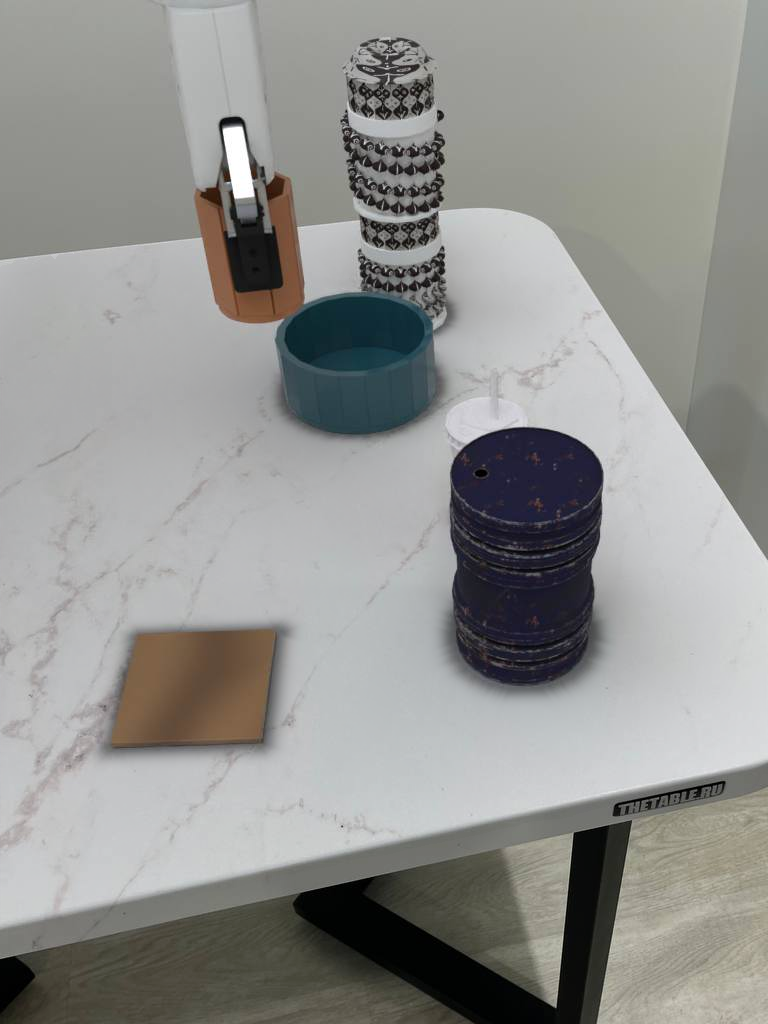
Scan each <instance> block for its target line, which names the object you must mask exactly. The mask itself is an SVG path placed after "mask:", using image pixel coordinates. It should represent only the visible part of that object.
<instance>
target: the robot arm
mask: <svg viewBox="0 0 768 1024" xmlns="http://www.w3.org/2000/svg"><path fill="white" fill-rule="evenodd" d="M147 1H148V2H151V3H154V4H155V5H160V6H161V7H162V14H163V22H164V29H165V35H166V36H165V37H166V41H167V42H166V43H167V48H168V54H169V59H170V65H171V70H172V75H173V80H174V85H175V90H176V95H177V102H178V106H179V111H180V115H181V121H182V126H183V130H184V135H185V141H186V146H187V151H188V156H189V161H190V166H191V171H192V175H193V182H194V186H195V187H196V188H198V189H200V190H201V191H203V192H206V191H207V190H206V188H212V187H216V184H217V180H218V181H219V190H220V192H221V198H222V203H223V209H224V215H225V220H226V226H227V231H224V236H225V242H226V247H227V252H228V258H229V263H230V268H231V274H232V279H233V284H234V289H235V291H237V292H238V293H245V292H253V291H262V290H270V289H279V288H281V287H282V286H283V276H282V269H281V263H280V256H279V249H278V242H277V236H276V229H275V226H271V220H270V214H269V208H268V202H267V195H266V189H265V182H266V185H268V184H269V183H270V182H271V181H272V180H273V178H274V171H275V161H274V147H273V131H272V124H271V123H272V121H271V119H272V118H271V109H270V99H269V89H268V79H267V73H266V72H267V71H266V64H265V56H264V49H263V40H262V33H261V26H260V19H259V11H258V4H257V0H147ZM254 168H256V173H257V179H252V176H251V170H250V169H254ZM223 171H230V176H231V181H227V182H225V181H224V175H223ZM264 180H265V181H264ZM256 189H257V194H258V200H259V201H256V199H255V193H254V190H256ZM229 192H233V194H234V199H235V203H232V206H231V200H230V195H229Z"/></svg>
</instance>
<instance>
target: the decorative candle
mask: <svg viewBox="0 0 768 1024" xmlns="http://www.w3.org/2000/svg"><path fill="white" fill-rule="evenodd" d="M438 67H439V66H438V64H437V60H436V59H434V58H432V57H431V56H429V55H428V54H427V52H426V50H425V49H424V47H423V46H422V45H421V44H419V43H418V42H416V41H414V40H412V39H409V38H404V37H397V36H387V37H386V36H385V37H377V38H372V39H369V40H367V41H364V42H362V43H360V44H359V45H358V46H357V47H356V48H355V50H354V51H353V53H352V54H351V57H350V58H349V59H347V61H345V63H344V64H343V65H342V73H343V74H344V75H345V77H346V88H347V99H348V100H347V102H346V109H345V110H344V115H343V116H341V117H340V124H341V133H342V135H343V136H342V141H343V150H344V151H345V152H346V153H348V157H347V158H346V160H345V163H346V165H347V166H348V167H347V173H348V181H349V184H348V185H349V186H348V187H349V189H350V191H352V192H353V196H352V203H353V209H354V211H356V212H357V213H358V217H359V227H360V230H359V231H358V235H359V244H360V247H359V248H358V250H357V255H358V256H357V262H359V263H360V264H359V266H358V269H359V270H360V271H359V276H360V278H362V280H361V281H360V292H374V293H381V294H388V295H394V296H397V297H399V298H402V299H405V300H408V301H411V302H412V303H414V304H415V305H417V306H418V307H420V308H421V309H422V310H424V311H425V312H426V313H427V315H428V316H429V318H430V320H431V321H432V323H433V332H434V331H435V330H437V329H438V328H439V327H441V326H442V325H443V324H444V322H445V321H446V318H447V316H448V312H447V307H446V305H448V301H447V300H446V299H445V298H446V297H447V293H446V291H447V289H448V287H447V286H446V285H445V284H446V283H447V279H446V278H444V277H443V276H444V274H446V262H445V261H444V260H445V258H446V252H445V248H446V247H445V246H444V245H443V243H442V241H443V240H442V230H441V228H440V224H439V221H440V216H439V211H440V209H441V207H442V205H443V203H444V200H445V196H443V191H441V188H442V187H443V186H444V185H445V183H446V182H445V179H444V177H443V174H442V173H440V172H438V171H437V170H439V169H440V168H441V166H443V165H444V164H445V163H446V158H445V154H444V153H443V152H442V151H441V149H442V148H443V147H444V146H445V145H446V140H445V138H444V135H443V134H442V133H440V132H438V131H437V130H435V124H436V123H439V122H441V121H443V120H444V118H445V113H444V112H443V111H442V110H440V109H438V104H437V100H436V98H435V96H434V92H435V82H434V74H435V72H436V70H437V69H438ZM352 144H353V146H354V147H353V146H352Z"/></svg>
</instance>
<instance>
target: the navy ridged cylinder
mask: <svg viewBox="0 0 768 1024" xmlns="http://www.w3.org/2000/svg"><path fill="white" fill-rule="evenodd" d="M452 460H453V459H452ZM449 470H450V471H449V484H450V499H449V504H448V505H449V523H450V527H449V535H450V537H449V538H450V541H451V546H452V548H453V551H454V554H455V557H456V570H455V573H454V575H453V581H452V586H451V594H452V595H451V596H452V606H453V607H452V610H453V619H454V623H455V639H456V646H457V648H458V652H459V653H460V655H461V657H462V659H463V660H464V661H465V662H466V664H467V665H468V666H469V667H470V668H472V669H473V671H475V672H476V673H478V674H480V675H481V676H483V677H485V678H487V679H489V680H492V681H494V682H497V683H501V684H505V685H511V686H536V685H541V684H547V683H549V682H553V681H554V680H557V679H559V678H561V677H564V676H565V675H567V674H568V673H569V672H571V671H572V670H573V669H574V668H575V667H576V666H577V665H578V664H579V663H580V662H581V660H582V659H583V657H584V656H585V653H586V651H587V647H588V642H589V629H590V626H591V622H592V619H593V612H594V611H593V609H594V601H595V597H596V592H595V591H596V588H595V582H594V577H593V576H594V575H593V574H592V567H593V559H594V558H595V555H596V553H597V551H598V547H599V544H600V540H601V526H602V520H603V502H602V501H603V490H604V481H605V479H604V478H605V474H604V473H605V472H604V468H603V464H602V462H601V461H600V458H599V457H598V456H597V454H596V452H595V451H594V450H592V448H590V447H589V446H588V445H587V444H586V443H584V442H582V441H581V440H580V439H578V438H576V437H573V436H572V435H569V434H567V433H564V432H561V431H559V430H554V429H550V428H546V427H537V426H529V427H513V428H506V429H500V430H497V431H493V432H490V433H487V434H484V435H482V436H480V437H478V438H476V439H474V440H472V441H471V442H470V443H468V444H467V445H465V446H464V447H463V448H462V449H461V450H460V451H459V452H458V454H457V455H456V457H455V458H454V460H453V461H452V462H451V465H450V469H449Z"/></svg>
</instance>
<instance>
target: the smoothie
mask: <svg viewBox="0 0 768 1024" xmlns="http://www.w3.org/2000/svg"><path fill="white" fill-rule="evenodd" d="M513 427H530V419H529V415H528V414H527V412H526V410H525V409H524V408H522V407H521V406H520V405H519V404H517V403H515V402H514V401H511V400H510V399H509V400H508V399H505V398H501V397H499V369H498V368H497V367H491V368H490V396H479V397H478V396H477V397H472V398H468V399H466V400H463V401H461V402H459V403H457V404H456V405H454V406H453V407H451V408H450V409H449V410H448V412H447V414H446V415H445V418H444V429H443V431H444V438H445V439H446V441H447V442H448V444H449V445H450V449H451V454H452V460H454V458H455V457H456V455H457V454H458V452H459V451H460V450H461V449H462V448H463V447H464V446H465V445H467V444H468V443H470V442H471V441H472V440H474V439H476V438H478V437H480V436H482V435H484V434H487V433H490V432H493V431H497V430H500V429H506V428H513Z"/></svg>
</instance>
